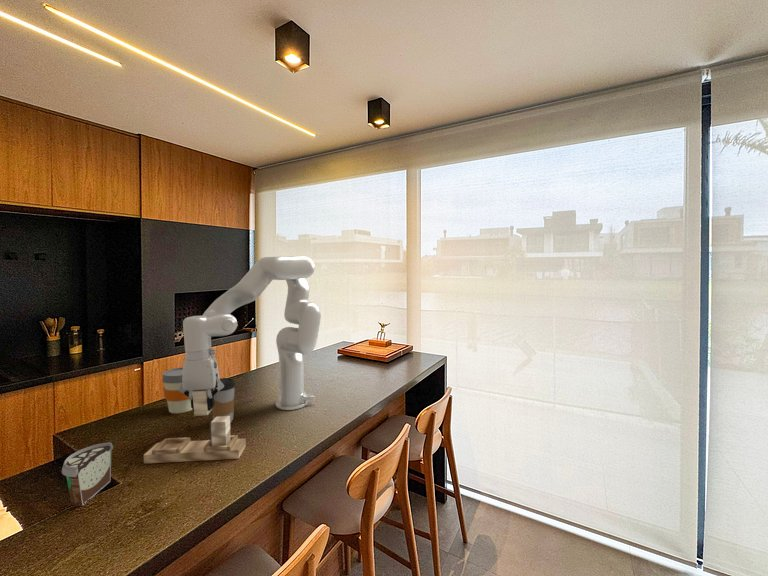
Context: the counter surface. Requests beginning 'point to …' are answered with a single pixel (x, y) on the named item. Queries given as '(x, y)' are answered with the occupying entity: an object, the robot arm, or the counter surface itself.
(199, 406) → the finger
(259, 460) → the counter surface
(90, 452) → the food container
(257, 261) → the robot arm
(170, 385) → the reusable coffee cup
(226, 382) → the coffee cup
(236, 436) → the rail
